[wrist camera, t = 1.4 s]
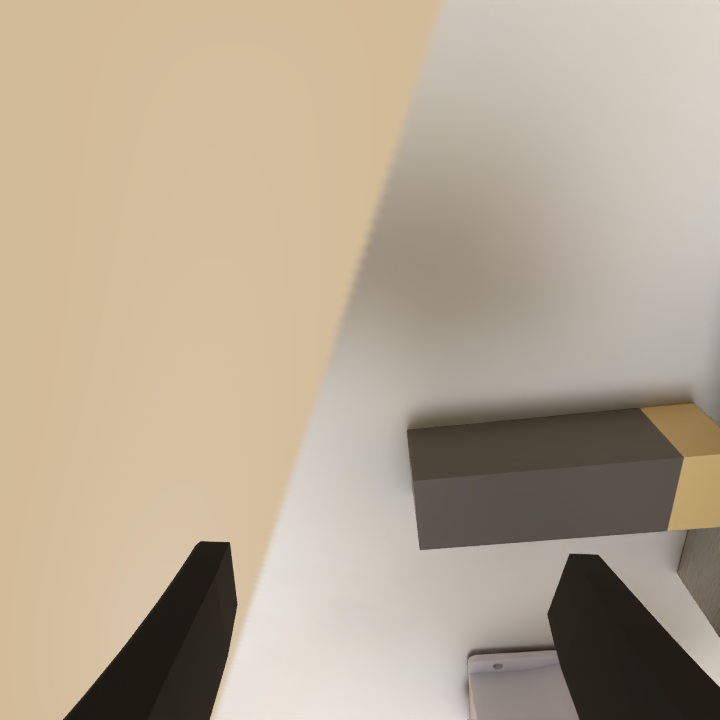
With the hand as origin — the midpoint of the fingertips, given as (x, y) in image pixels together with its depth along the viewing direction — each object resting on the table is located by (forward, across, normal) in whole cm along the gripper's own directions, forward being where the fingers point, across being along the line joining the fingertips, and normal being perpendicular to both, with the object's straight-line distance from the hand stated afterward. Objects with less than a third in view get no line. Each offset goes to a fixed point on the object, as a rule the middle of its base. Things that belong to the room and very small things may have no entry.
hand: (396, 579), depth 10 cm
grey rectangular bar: (+9, -7, +3) cm, 12 cm away
